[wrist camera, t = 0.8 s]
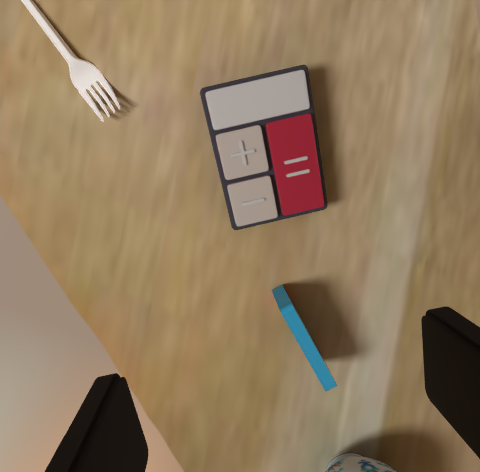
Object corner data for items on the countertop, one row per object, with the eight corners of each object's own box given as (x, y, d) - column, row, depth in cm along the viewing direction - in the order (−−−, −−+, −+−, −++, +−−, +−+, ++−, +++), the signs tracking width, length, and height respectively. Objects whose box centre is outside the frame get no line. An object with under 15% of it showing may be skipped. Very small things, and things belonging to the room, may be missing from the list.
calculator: (233, 233, 36) (198, 87, 32) (231, 223, 40) (200, 93, 36) (330, 210, 36) (309, 61, 32) (318, 203, 40) (298, 70, 36)
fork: (-6, -72, 32) (-20, -86, 30) (129, 108, 36) (124, 105, 34) (-31, -50, 32) (-47, -63, 30) (106, 126, 36) (99, 124, 34)
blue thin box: (271, 289, 41) (280, 311, 35) (281, 283, 41) (292, 305, 35) (312, 361, 44) (326, 393, 38) (321, 356, 44) (338, 387, 38)
